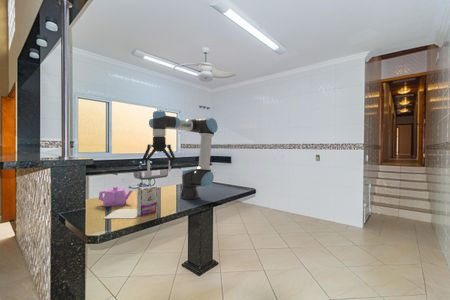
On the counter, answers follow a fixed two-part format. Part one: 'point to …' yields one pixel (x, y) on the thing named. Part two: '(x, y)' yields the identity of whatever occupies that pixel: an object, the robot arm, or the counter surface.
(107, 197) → the teakettle
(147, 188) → the candy bar box
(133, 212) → the mat
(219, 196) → the counter surface
